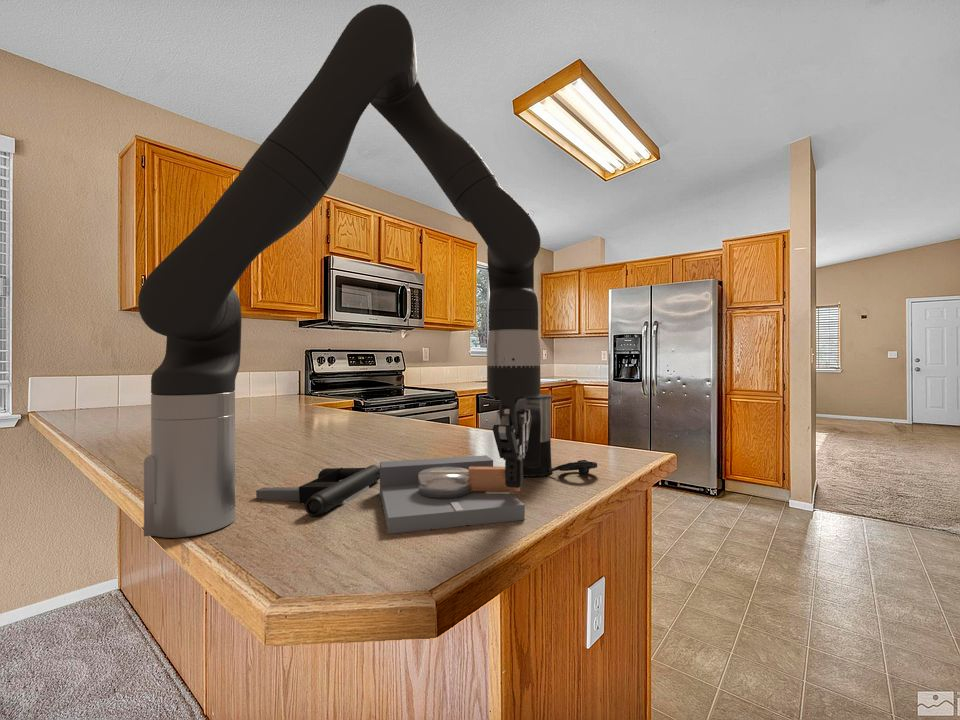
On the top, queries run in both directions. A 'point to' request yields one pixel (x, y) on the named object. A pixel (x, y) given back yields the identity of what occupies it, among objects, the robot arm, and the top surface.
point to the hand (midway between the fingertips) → (514, 485)
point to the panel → (426, 513)
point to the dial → (461, 481)
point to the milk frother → (545, 442)
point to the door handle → (326, 489)
